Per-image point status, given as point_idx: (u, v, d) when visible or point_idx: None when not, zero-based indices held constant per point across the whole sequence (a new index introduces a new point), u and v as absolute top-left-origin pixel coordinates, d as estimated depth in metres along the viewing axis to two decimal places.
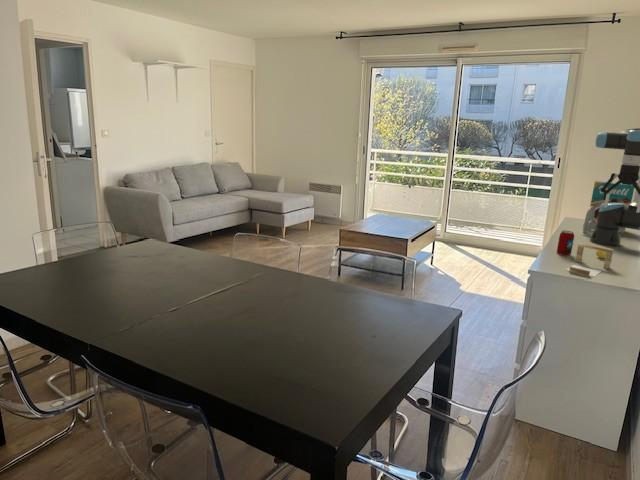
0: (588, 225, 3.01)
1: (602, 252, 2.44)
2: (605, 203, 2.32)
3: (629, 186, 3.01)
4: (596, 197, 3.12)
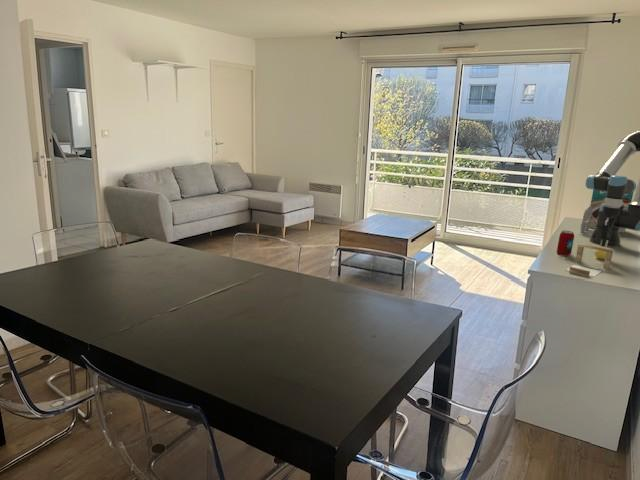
0: (586, 225, 3.02)
1: (600, 256, 2.43)
2: None
3: None
4: (596, 197, 3.12)
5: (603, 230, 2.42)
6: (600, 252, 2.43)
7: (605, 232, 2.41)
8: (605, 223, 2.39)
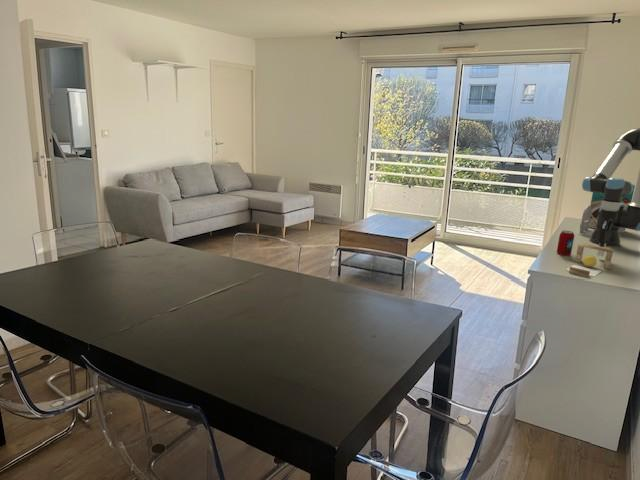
0: (585, 224, 3.02)
1: (589, 266, 2.30)
2: (598, 251, 2.45)
3: None
4: (596, 197, 3.12)
5: (601, 234, 2.38)
6: (588, 265, 2.29)
7: (603, 236, 2.38)
8: (603, 227, 2.36)
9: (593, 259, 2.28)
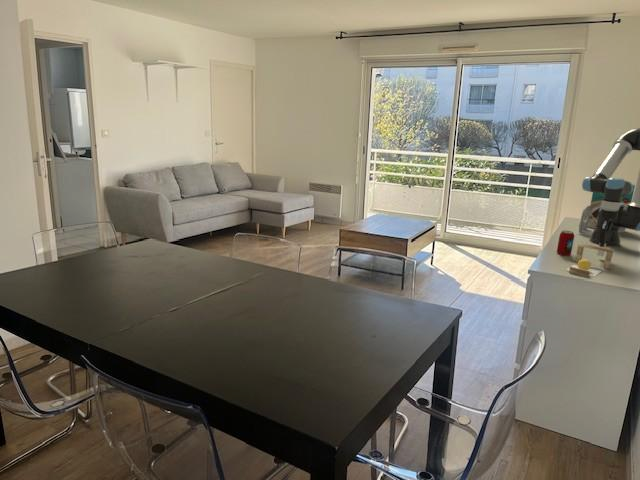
0: (584, 224, 3.02)
1: (586, 260, 2.22)
2: (598, 251, 2.45)
3: None
4: (596, 197, 3.12)
5: (601, 234, 2.38)
6: None
7: (603, 236, 2.38)
8: (603, 227, 2.36)
9: None
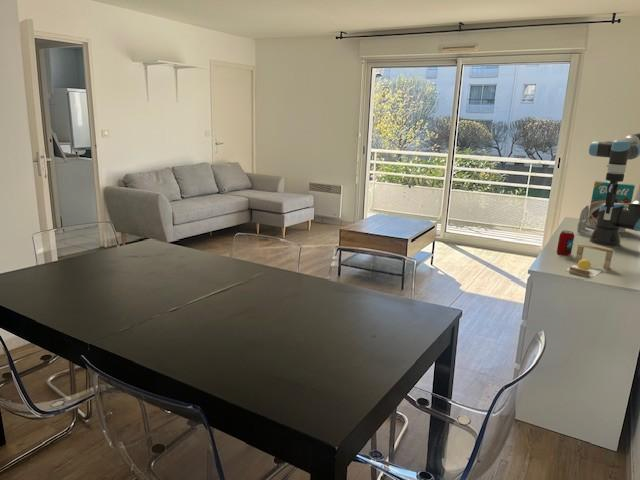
0: (582, 224, 3.03)
1: (586, 260, 2.22)
2: None
3: (629, 186, 3.01)
4: (596, 197, 3.12)
5: (607, 197, 2.37)
6: None
7: (609, 199, 2.37)
8: (609, 190, 2.35)
9: None
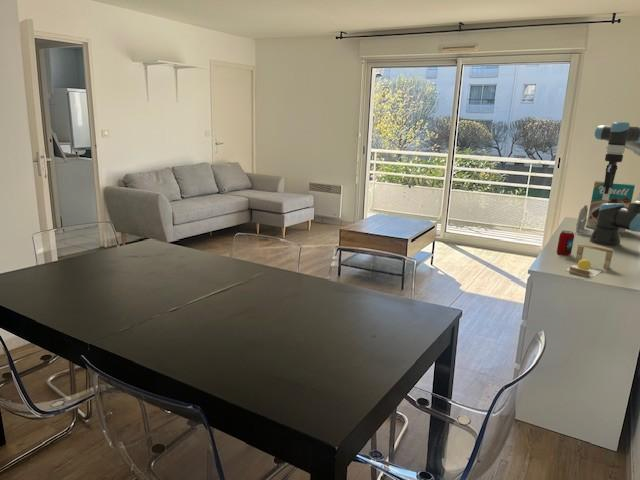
0: (581, 224, 3.03)
1: (586, 260, 2.22)
2: (603, 195, 2.49)
3: (629, 186, 3.01)
4: (596, 197, 3.12)
5: (606, 177, 2.43)
6: None
7: (608, 179, 2.42)
8: (608, 170, 2.40)
9: None
